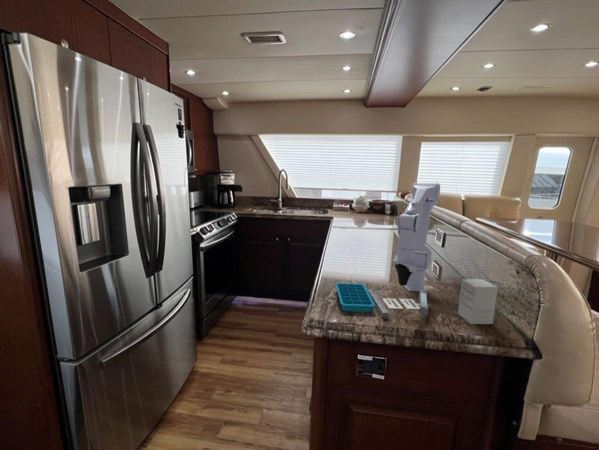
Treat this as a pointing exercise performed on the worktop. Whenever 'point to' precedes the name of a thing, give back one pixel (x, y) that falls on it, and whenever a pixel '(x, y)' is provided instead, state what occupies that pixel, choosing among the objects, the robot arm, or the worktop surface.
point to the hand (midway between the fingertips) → (402, 284)
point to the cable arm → (423, 302)
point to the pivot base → (419, 304)
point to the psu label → (392, 303)
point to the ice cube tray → (354, 297)
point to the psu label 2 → (409, 304)
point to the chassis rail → (378, 304)
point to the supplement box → (477, 301)
